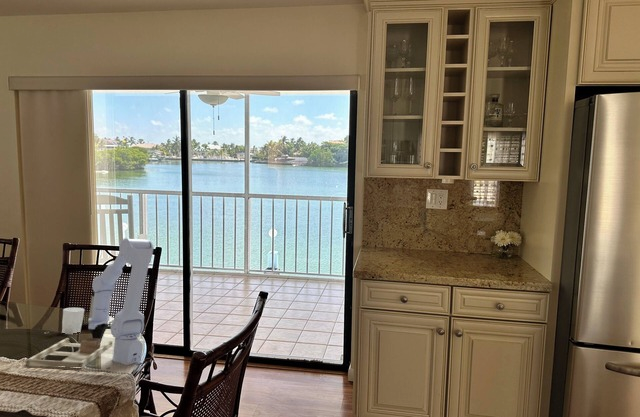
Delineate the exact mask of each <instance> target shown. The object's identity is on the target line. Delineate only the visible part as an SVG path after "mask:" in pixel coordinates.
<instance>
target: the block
mask: <svg viewBox="0 0 640 417" xmlns="http://www.w3.org/2000/svg"><path fill="white" fill-rule="evenodd" d="M100 341H101V342H102V340H101V339H98V338H92V337H86V338H84V339H82V340H80V344H81V345H80V347H79V349H80V353H93V352H95V351H96V350H98V349H99V348H100V345H101V343H100Z"/></svg>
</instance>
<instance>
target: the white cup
mask: <svg viewBox="0 0 640 417" xmlns="http://www.w3.org/2000/svg"><path fill="white" fill-rule="evenodd" d="M84 314H85V308H82V307H66V308H63V309H62V322H61V324H62V325H61V326H62V327H61V334H62V333H65V334H64V335H73V333H77V332H80V333H81V330H82V326H83V322H84V321H83V320H84Z"/></svg>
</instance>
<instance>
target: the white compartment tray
mask: <svg viewBox="0 0 640 417" xmlns="http://www.w3.org/2000/svg"><path fill="white" fill-rule="evenodd" d="M80 345H81V343H77V342H75V343H74V342H73V343H71V342H70V337H66V338H64V339H62V340H60V341H58V342H56V343H55V344H53V345H51V346H49V347H48V348H46V349H44V350H42V351H40V352H39V353H36V354H35V355H33V356H31V357H29V358H27V359H26V362H25V367H40V366H65V367H83V368H84V367H86V366H87V365H88V364H89V363H91V362H93V361H94V360H95V359H96V358H98V357H99V356H101V355H102V354H104V352H106V351H107V350H108V349H110V348H111V347H113V340H109V341H107V343H104V344H100V348H99V349H98V350H96V351H95V352H93V353H80ZM62 347H75V348H79V349H78V350H76V351H75V352H72V351H71V352H70V351H57V350H60V349H61V348H62ZM48 356H60V357H61V356H62V357H65V358H63V359H62V360H53V359H51V360H49V359H44V358H45V357H48Z"/></svg>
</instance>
